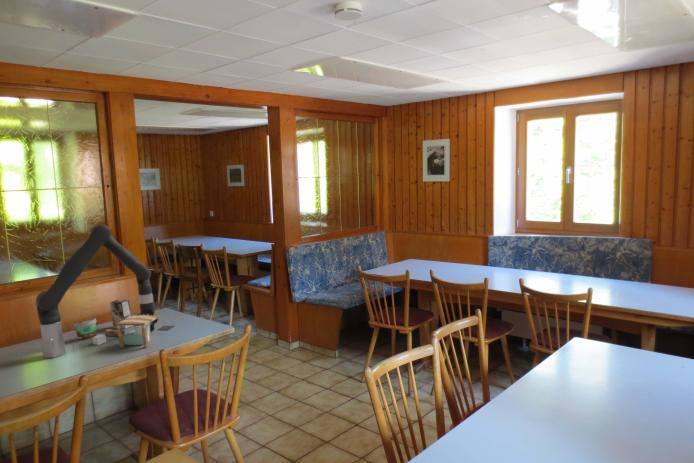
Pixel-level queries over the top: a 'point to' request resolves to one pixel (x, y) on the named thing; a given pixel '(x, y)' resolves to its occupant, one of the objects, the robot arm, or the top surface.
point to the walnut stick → (112, 332)
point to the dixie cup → (139, 329)
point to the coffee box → (120, 312)
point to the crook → (134, 338)
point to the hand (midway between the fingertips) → (149, 330)
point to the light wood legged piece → (136, 320)
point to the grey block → (99, 339)
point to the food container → (86, 329)
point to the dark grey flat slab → (165, 328)
